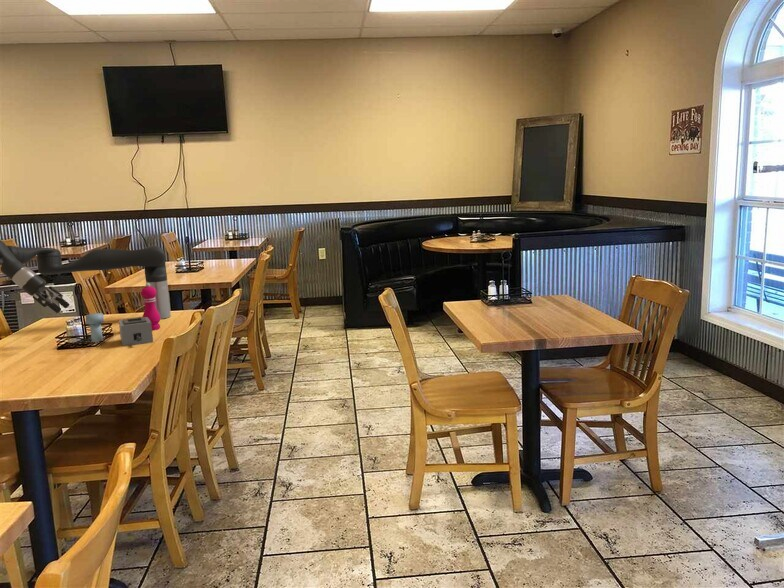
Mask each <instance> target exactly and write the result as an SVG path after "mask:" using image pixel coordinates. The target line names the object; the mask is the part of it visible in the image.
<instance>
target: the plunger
mask: <svg viewBox="0 0 784 588" xmlns="http://www.w3.org/2000/svg"><path fill="white" fill-rule="evenodd" d="M134 337H136V340H137V341H141V337H139V333H135V334H134Z"/></svg>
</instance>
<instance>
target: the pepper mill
mask: <svg viewBox="0 0 784 588" xmlns="http://www.w3.org/2000/svg"><path fill="white" fill-rule="evenodd" d="M140 295H141V297H143V301H142V303H144V311H143V315H142V317H148V318H149V320H150V321H151V326H152V331H156V330H160V329H161V324H160V321H161V319H160V315H159V313H158V311H157V309H156V307H155V301H156V300H155V299H156V298H155V295H156V290H155V288H153V287H150V284H149V283H147V284H146V283H145V287H143V288H142V289H141V291H140Z"/></svg>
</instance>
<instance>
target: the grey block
mask: <svg viewBox="0 0 784 588" xmlns="http://www.w3.org/2000/svg"><path fill="white" fill-rule="evenodd" d="M118 327H119V335H120V341H121V345H122V347H127V346H135V345H141V344H148V343H149V344H150V343H154V338H153V330H152V326H151V321H150V320H149V318H148V317H143V316H139V317H132V318H123V319H120V320H118ZM135 333H139V337H141V341H137V340H136V337H134V334H135Z"/></svg>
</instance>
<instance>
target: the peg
mask: <svg viewBox="0 0 784 588" xmlns="http://www.w3.org/2000/svg"><path fill="white" fill-rule="evenodd" d="M84 316H85V323H86V325H89V328H90V329H89V330H90V338H91V343H92V342H99V341H103V342H104V337H103V331H102V324H103V323H104V322H105V320H104V313H100V312H95V313H89V314H88V313H87V314H86V315H84Z"/></svg>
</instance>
